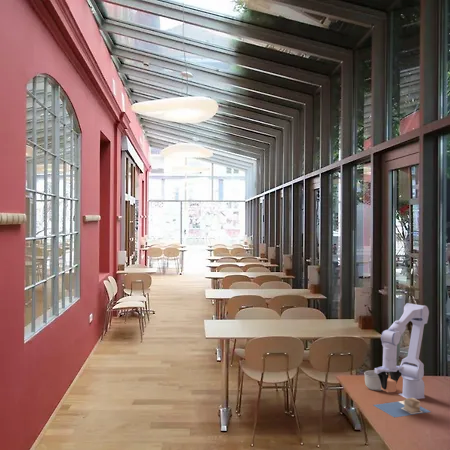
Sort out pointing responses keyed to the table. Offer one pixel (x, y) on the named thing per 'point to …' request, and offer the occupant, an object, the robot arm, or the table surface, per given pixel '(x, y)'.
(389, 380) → the terracotta cube
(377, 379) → the teacup
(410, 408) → the maple cube
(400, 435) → the table surface
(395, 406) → the board
